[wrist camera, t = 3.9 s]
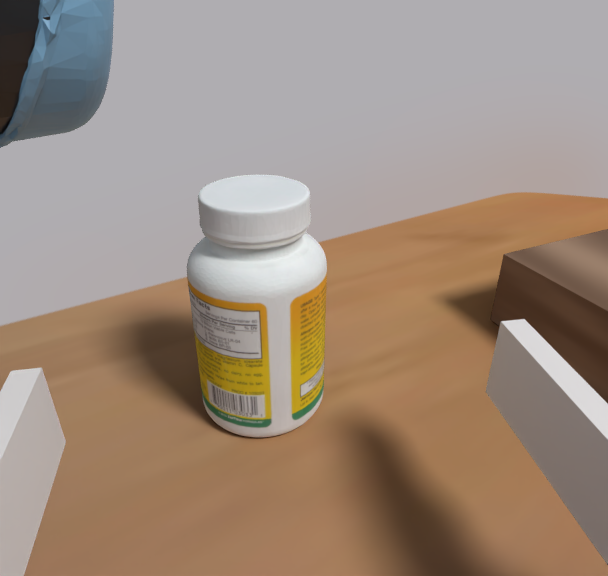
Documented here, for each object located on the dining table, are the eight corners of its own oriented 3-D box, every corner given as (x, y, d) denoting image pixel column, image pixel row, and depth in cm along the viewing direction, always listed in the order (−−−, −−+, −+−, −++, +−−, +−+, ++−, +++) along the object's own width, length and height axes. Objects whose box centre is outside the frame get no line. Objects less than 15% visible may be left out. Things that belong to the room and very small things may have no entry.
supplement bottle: (216, 456, 20) (187, 228, 15) (194, 374, 25) (167, 177, 20) (343, 423, 22) (352, 206, 17) (302, 351, 26) (299, 163, 21)
